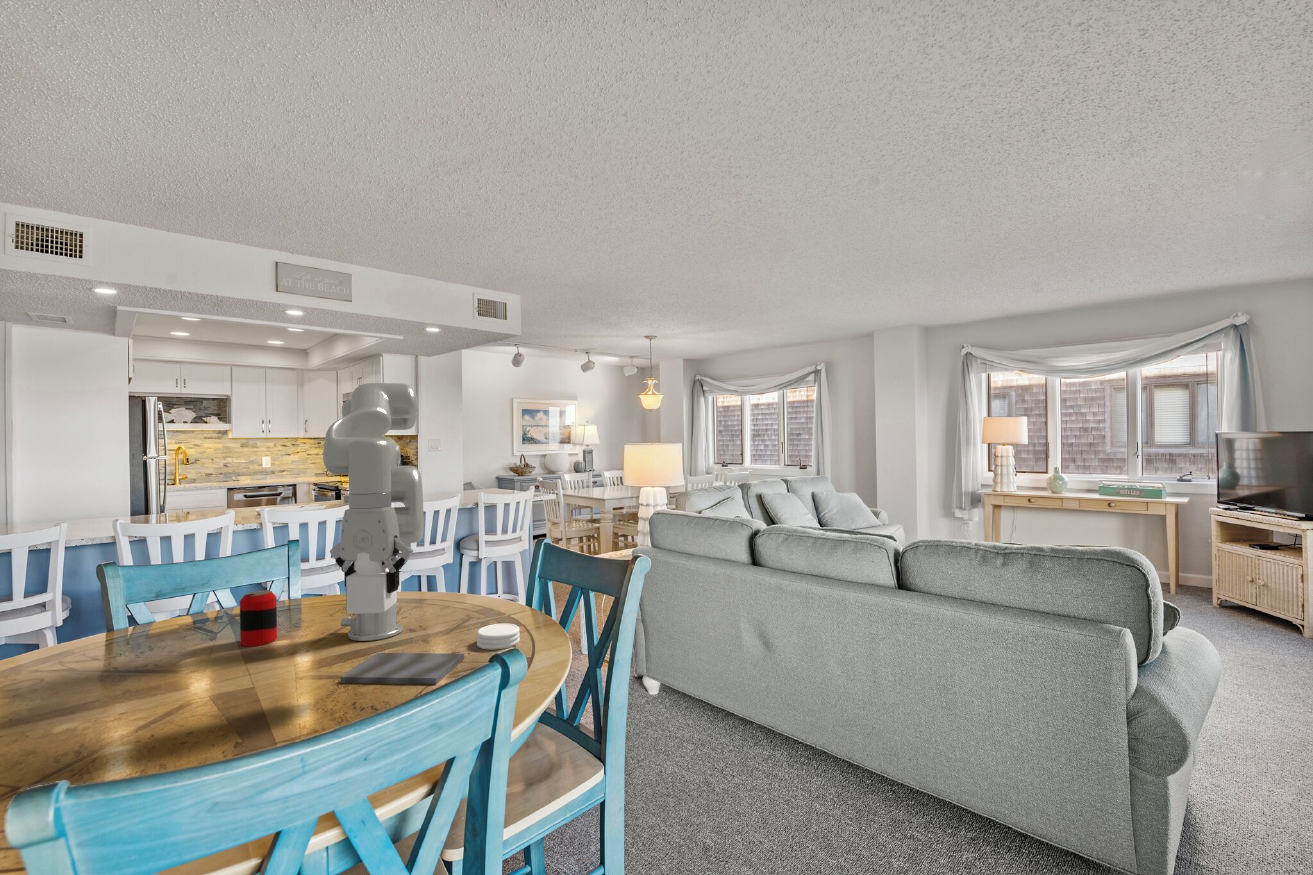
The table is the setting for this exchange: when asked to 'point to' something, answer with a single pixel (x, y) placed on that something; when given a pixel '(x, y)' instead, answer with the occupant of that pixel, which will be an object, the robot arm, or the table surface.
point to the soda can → (258, 618)
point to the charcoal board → (403, 668)
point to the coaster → (498, 636)
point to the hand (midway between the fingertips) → (372, 590)
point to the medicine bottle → (368, 587)
